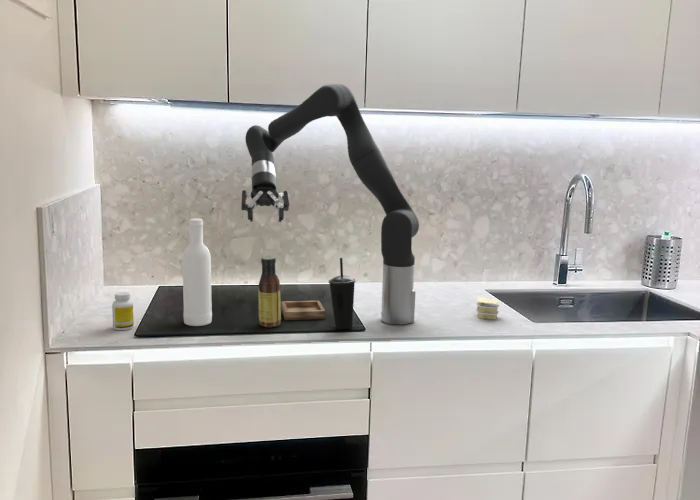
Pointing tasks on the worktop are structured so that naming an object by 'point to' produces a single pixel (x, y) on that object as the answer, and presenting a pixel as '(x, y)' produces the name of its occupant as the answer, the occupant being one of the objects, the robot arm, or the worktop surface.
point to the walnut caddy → (302, 310)
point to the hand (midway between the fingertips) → (266, 220)
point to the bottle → (197, 278)
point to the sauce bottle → (269, 294)
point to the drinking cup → (342, 299)
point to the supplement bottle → (122, 311)
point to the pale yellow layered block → (487, 308)
